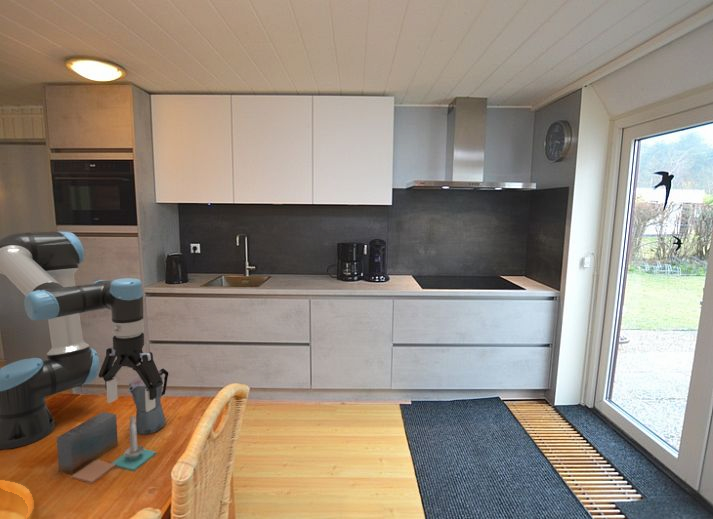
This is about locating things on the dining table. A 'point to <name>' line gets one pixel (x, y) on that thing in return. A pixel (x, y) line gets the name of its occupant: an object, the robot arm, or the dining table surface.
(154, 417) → the moka pot
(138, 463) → the teal pad
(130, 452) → the screw
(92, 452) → the grey unit
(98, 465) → the terracotta pad
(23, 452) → the dining table surface
